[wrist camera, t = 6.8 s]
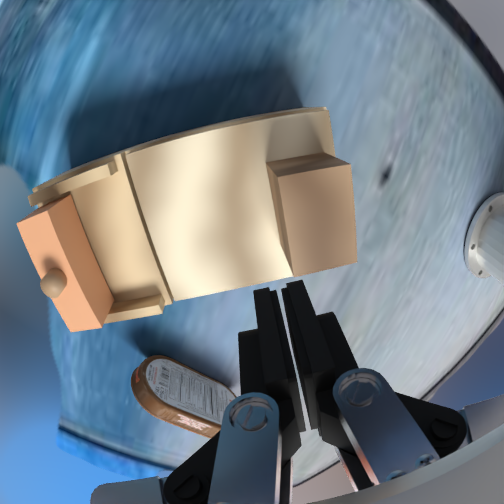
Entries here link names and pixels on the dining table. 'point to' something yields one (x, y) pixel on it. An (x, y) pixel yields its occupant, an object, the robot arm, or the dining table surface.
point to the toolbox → (123, 224)
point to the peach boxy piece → (67, 264)
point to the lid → (247, 203)
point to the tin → (180, 395)
